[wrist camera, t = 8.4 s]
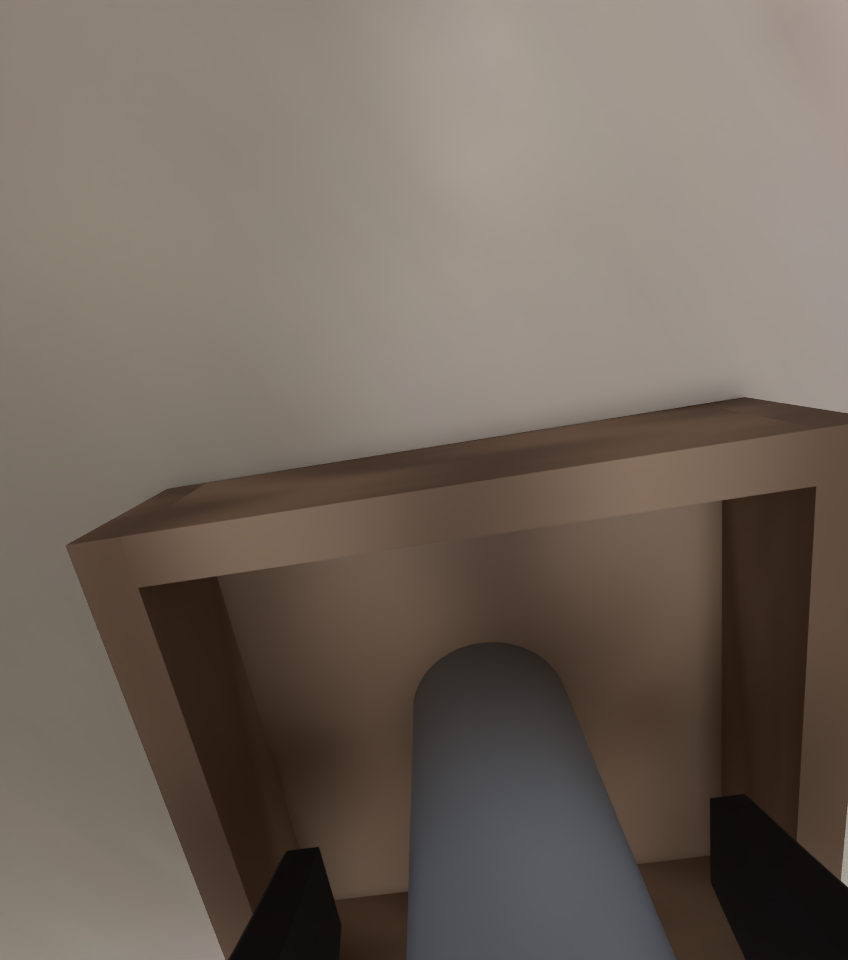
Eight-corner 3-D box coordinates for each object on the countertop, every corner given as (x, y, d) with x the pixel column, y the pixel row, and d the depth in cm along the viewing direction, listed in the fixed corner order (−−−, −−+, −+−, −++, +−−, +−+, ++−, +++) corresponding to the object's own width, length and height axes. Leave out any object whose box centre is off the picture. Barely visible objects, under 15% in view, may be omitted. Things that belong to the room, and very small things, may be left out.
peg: (426, 779, 13) (430, 1380, 6) (401, 654, 12) (362, 1180, 4) (572, 760, 13) (786, 1352, 5) (559, 631, 12) (801, 1139, 4)
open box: (297, 901, 16) (262, 1054, 12) (167, 488, 12) (66, 545, 9) (738, 848, 15) (830, 994, 12) (745, 397, 11) (882, 418, 8)
